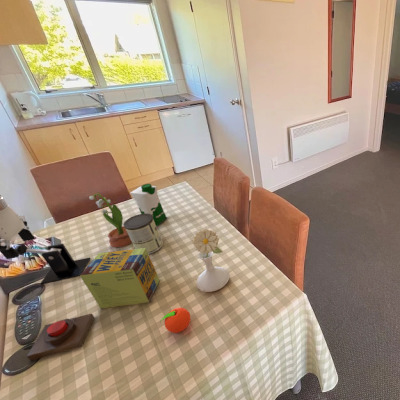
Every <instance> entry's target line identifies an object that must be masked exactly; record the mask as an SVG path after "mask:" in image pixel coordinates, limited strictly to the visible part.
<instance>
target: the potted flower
mask: <svg viewBox="0 0 400 400" xmlns="http://www.w3.org/2000/svg"><path fill="white" fill-rule="evenodd" d="M96 196H98V200H97V197H96ZM100 198H101V199H100ZM91 200H92V201H93V200H95V204H96V205H97V208H98V209H101V208H102V211H101V213H102V216H103V217H104V219H105V220H106V221H107V222H108V223H109V224H111V225H112V226H113V227H114V229H111V231H110V232H109V233H107V237H108V240H109V245H110V246H111V247H113V248H122V247H127V246H129V245H131V244H133V243H132V241H131V239H130V237H129V235H128V233H127V231H126V229H125V227H124V225H123V221H124V218H123V213H122V210H121V209H120V207H118V206H117V205H116V204H115V203H113V204H111V203H112V201H111V199H110V198H109V199H108V198H107V197H104V196H103V195H102V194H101V193H100V191H98V192H97V193H95V194H93V195H90V196H89V201H91ZM104 203H106V204H104ZM103 204H104V205H103ZM110 204H111V205H110ZM104 207H108V208H109V210H110V211H108V210H107V209H104ZM109 214H111V216H110V215H109Z"/></svg>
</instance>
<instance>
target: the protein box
mask: <svg viewBox="0 0 400 400" xmlns="http://www.w3.org/2000/svg"><path fill="white" fill-rule="evenodd" d="M79 277H80V279H81V280H82V282H83V283H84V285H85V286H86V288H87V289H88V291H89V293H90V294H91V296H92V297H93V299H94V300H95V303H96V304H97V305H98V307H99V308H100V309H108V308H115V307H123V306H130V305H138V304H147V303H150V302H151V299H152V297H153V296H154V293H155V291H156V289H157V287H158V285H159V283H160V280H161V279H160V277H159V274H158V273H157V270H156V268H155V266H154V263H153V262H152V259H151V257H150V254H148V252H147V250H146V248H141V249H135V248H134V249H123V250H116V251H107V252H99V253H97V254H96V255H95V257H94V258H93V259H92V260H91V262H89V263H88V264H87V266H86V268H85V269H84V271H83V272H82V274H81V275H80V276H79Z"/></svg>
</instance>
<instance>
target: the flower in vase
mask: <svg viewBox="0 0 400 400" xmlns="http://www.w3.org/2000/svg"><path fill="white" fill-rule="evenodd" d="M219 241H220V238H219V236H218V234H217V232H215V231H214V230H211V229H208V228H204V229H202V230H199V231H198V232H195V235H194V236H193V240H192V244H193V245H194V248H195V250H196V251H197V252H198V254H197V258H198V259H200V260H202V261H203V263H204V266H205V268H206V269H205V270H203V271H202V272H201V273H200V274H199V275H198V276H197V279H196V287H197V289H198V290H199V291H201V292H205V293H213V292H215V291H216V292H217V291H218V290H220V289H222V288H223V287H225V286H226V285H227V283H228V281H229V280H230V277H231V276H230V275H231V274H230V271H229V270H228V269H227V268H225V267H223V266H214V265H213V260H212V258H213V255H214V254H221V253H223V250H222V249H221V248H219V247H218V245H219Z"/></svg>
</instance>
